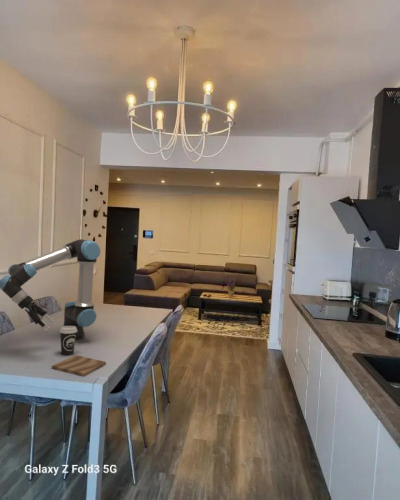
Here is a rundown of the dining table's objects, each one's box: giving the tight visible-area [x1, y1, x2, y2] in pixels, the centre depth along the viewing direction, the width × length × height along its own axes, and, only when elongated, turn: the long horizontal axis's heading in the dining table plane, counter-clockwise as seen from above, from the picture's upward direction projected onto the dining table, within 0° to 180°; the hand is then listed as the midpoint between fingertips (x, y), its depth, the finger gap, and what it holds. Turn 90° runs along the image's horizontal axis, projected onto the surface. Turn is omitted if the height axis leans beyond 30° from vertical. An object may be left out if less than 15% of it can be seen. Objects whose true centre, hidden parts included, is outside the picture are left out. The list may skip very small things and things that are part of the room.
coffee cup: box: [59, 325, 77, 356], centre depth 200 cm, size 10×10×15 cm
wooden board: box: [51, 354, 107, 377], centre depth 183 cm, size 20×18×2 cm
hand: (50, 326), depth 197 cm, fingers open, 13 cm apart
